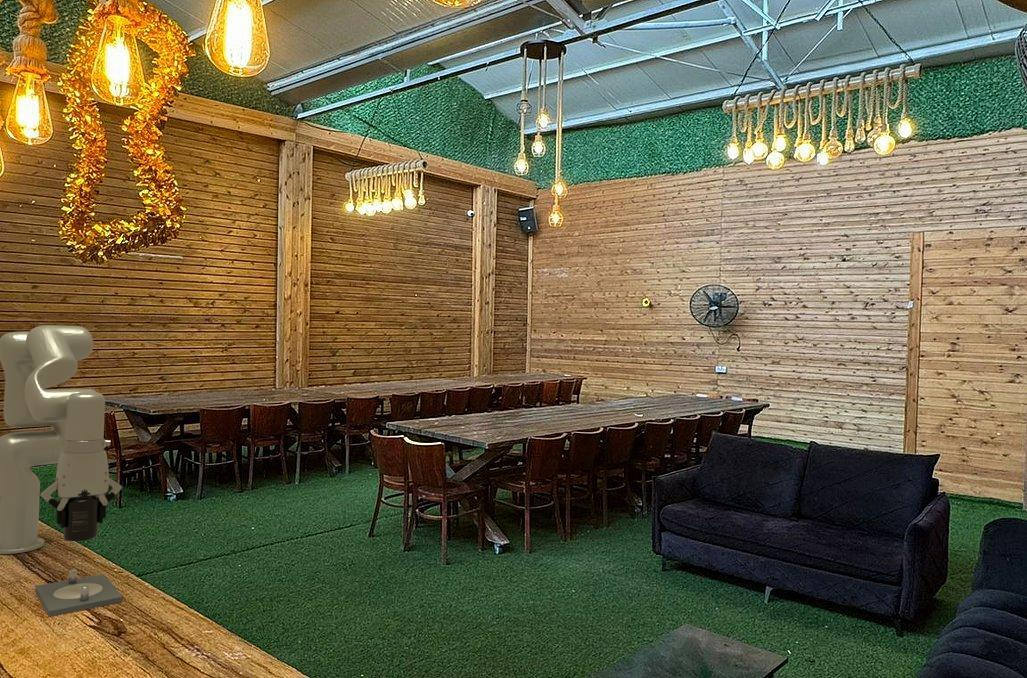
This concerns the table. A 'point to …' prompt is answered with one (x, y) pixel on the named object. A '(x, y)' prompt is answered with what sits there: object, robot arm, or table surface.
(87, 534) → the supplement bottle
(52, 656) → the table surface
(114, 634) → the table surface
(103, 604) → the board
